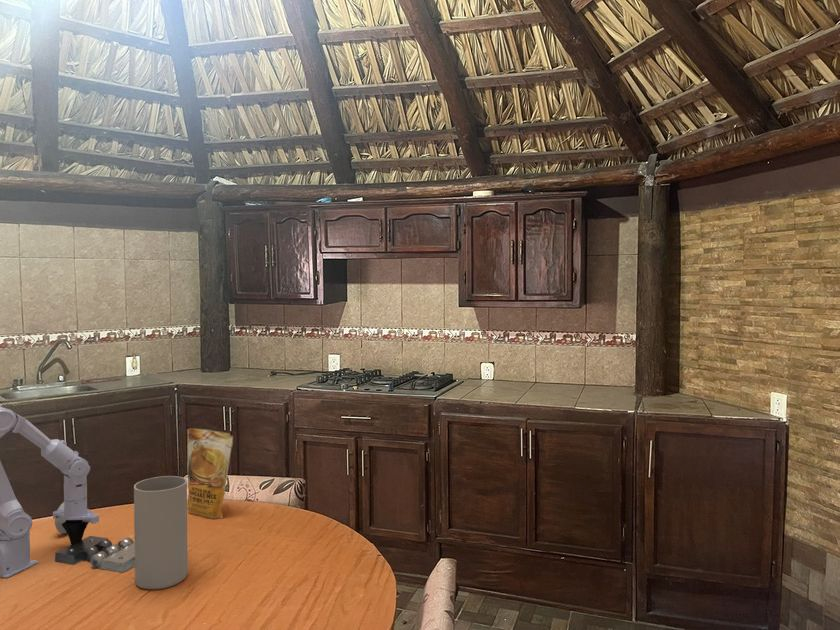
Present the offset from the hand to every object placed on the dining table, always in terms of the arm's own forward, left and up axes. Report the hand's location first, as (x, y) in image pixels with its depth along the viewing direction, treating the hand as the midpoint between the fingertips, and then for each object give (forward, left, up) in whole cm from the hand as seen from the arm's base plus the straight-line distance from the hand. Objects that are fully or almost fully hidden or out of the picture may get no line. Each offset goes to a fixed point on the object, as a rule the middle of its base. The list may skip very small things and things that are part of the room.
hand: (76, 545), depth 173 cm
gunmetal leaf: (-2, -6, -1) cm, 7 cm away
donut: (+9, +12, -1) cm, 15 cm away
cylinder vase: (-8, -36, -1) cm, 37 cm away
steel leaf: (-2, -18, -1) cm, 18 cm away
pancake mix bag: (+35, -19, -1) cm, 40 cm away
